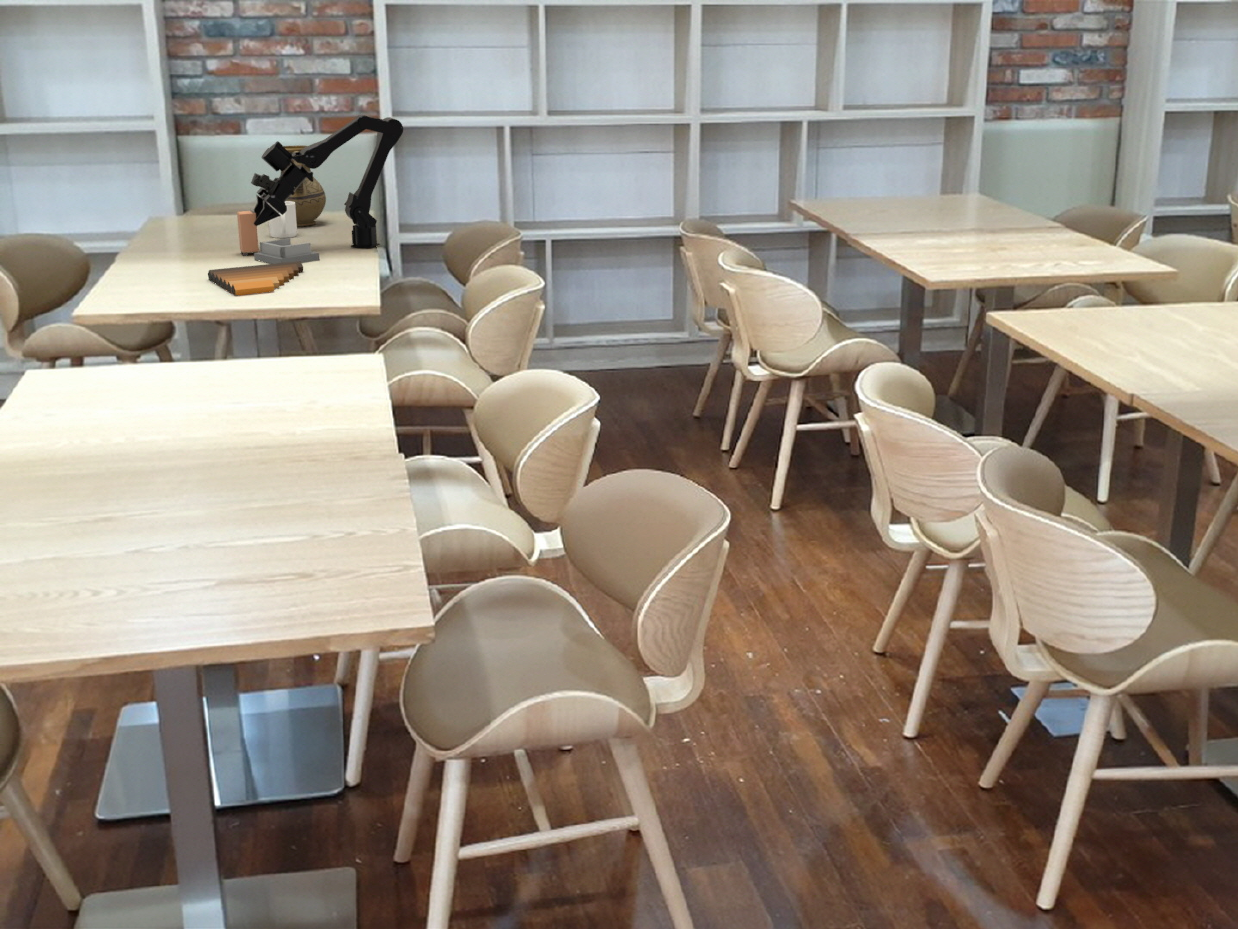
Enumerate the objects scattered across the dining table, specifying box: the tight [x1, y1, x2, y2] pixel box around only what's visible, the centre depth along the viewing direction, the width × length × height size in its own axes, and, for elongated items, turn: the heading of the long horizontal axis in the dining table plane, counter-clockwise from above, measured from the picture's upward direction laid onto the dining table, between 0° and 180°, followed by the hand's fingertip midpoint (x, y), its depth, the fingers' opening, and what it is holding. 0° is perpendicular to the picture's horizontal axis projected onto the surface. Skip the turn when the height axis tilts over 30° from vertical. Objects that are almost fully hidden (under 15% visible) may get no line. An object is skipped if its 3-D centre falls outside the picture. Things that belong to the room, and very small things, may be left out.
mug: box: [268, 201, 298, 239], centre depth 439 cm, size 12×8×10 cm
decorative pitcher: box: [279, 144, 327, 227], centre depth 459 cm, size 22×18×25 cm
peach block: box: [236, 208, 260, 257], centre depth 411 cm, size 4×6×13 cm
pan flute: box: [207, 261, 304, 296], centre depth 373 cm, size 25×3×25 cm
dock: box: [253, 238, 320, 264], centre depth 403 cm, size 13×13×5 cm
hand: (252, 222), depth 411 cm, fingers open, 9 cm apart
